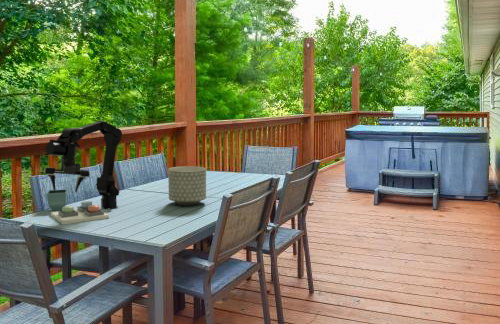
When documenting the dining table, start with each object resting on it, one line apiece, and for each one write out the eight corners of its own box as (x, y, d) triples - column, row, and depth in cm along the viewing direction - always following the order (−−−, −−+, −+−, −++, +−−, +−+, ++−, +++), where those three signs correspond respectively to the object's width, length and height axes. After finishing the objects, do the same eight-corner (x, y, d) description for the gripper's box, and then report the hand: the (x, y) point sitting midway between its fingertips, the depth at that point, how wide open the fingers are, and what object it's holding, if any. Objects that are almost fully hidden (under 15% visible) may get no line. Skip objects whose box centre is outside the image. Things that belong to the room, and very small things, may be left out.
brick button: (97, 209, 232) (97, 204, 232) (100, 211, 228) (100, 206, 228) (86, 211, 230) (86, 205, 229) (90, 213, 226) (90, 207, 225)
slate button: (90, 206, 240) (90, 200, 240) (93, 207, 237) (93, 202, 236) (80, 207, 238) (79, 202, 237) (83, 209, 234) (83, 203, 233)
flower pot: (47, 212, 240) (46, 193, 239) (49, 208, 248) (48, 190, 247) (66, 211, 242) (66, 192, 241) (68, 207, 251) (67, 189, 249)
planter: (199, 208, 248) (199, 172, 246) (163, 206, 252) (162, 170, 250) (210, 200, 267) (210, 166, 264) (176, 199, 270) (175, 165, 268)
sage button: (72, 210, 231) (71, 205, 230) (75, 212, 227) (74, 207, 226) (61, 212, 228) (60, 206, 228) (64, 214, 224) (63, 208, 224)
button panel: (94, 210, 244) (93, 203, 244) (108, 218, 228) (108, 211, 228) (51, 215, 233) (50, 209, 232) (63, 224, 217) (63, 217, 216)
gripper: (48, 154, 215) (44, 191, 215) (93, 159, 224) (89, 194, 224) (45, 154, 225) (42, 189, 225) (88, 158, 234) (85, 192, 234)
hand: (65, 191), depth 227 cm, fingers open, 9 cm apart
